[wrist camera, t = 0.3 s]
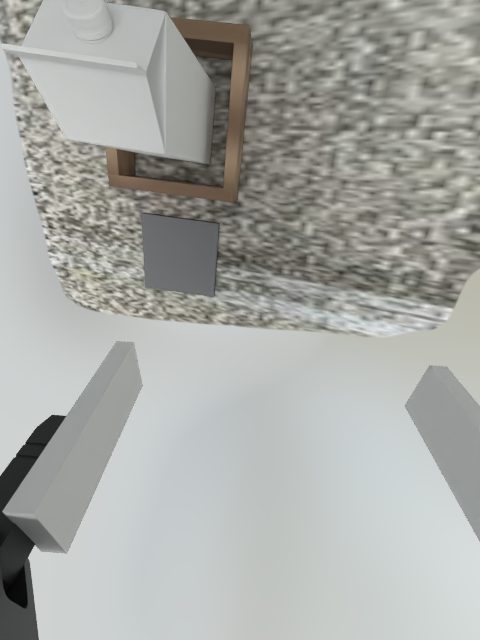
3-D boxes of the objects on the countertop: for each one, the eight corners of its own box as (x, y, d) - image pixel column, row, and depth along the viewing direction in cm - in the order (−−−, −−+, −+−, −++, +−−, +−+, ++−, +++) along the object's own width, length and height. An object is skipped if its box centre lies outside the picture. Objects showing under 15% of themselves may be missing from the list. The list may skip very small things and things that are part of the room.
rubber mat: (143, 212, 35) (141, 213, 35) (219, 223, 35) (218, 223, 34) (147, 285, 40) (145, 286, 39) (214, 295, 40) (213, 297, 39)
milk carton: (210, 164, 32) (139, 148, 15) (151, 155, 32) (18, 130, 15) (216, 87, 29) (133, -42, 12) (150, 78, 29) (-21, -62, 12)
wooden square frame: (109, 30, 28) (85, 9, 24) (252, 45, 27) (249, 25, 23) (121, 184, 34) (104, 185, 31) (237, 199, 33) (233, 202, 30)
